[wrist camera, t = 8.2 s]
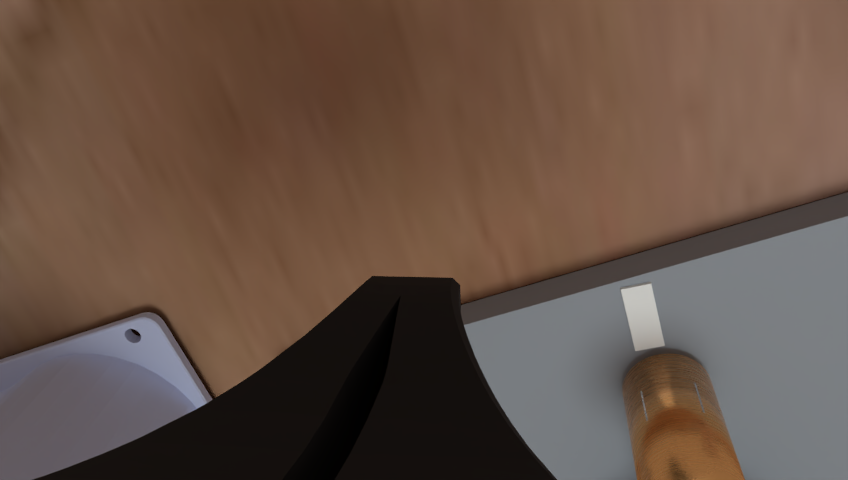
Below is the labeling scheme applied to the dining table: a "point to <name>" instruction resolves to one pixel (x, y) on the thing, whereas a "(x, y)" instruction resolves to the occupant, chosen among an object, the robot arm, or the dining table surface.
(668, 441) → the crank
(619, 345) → the stand
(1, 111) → the dining table surface
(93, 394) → the robot arm
